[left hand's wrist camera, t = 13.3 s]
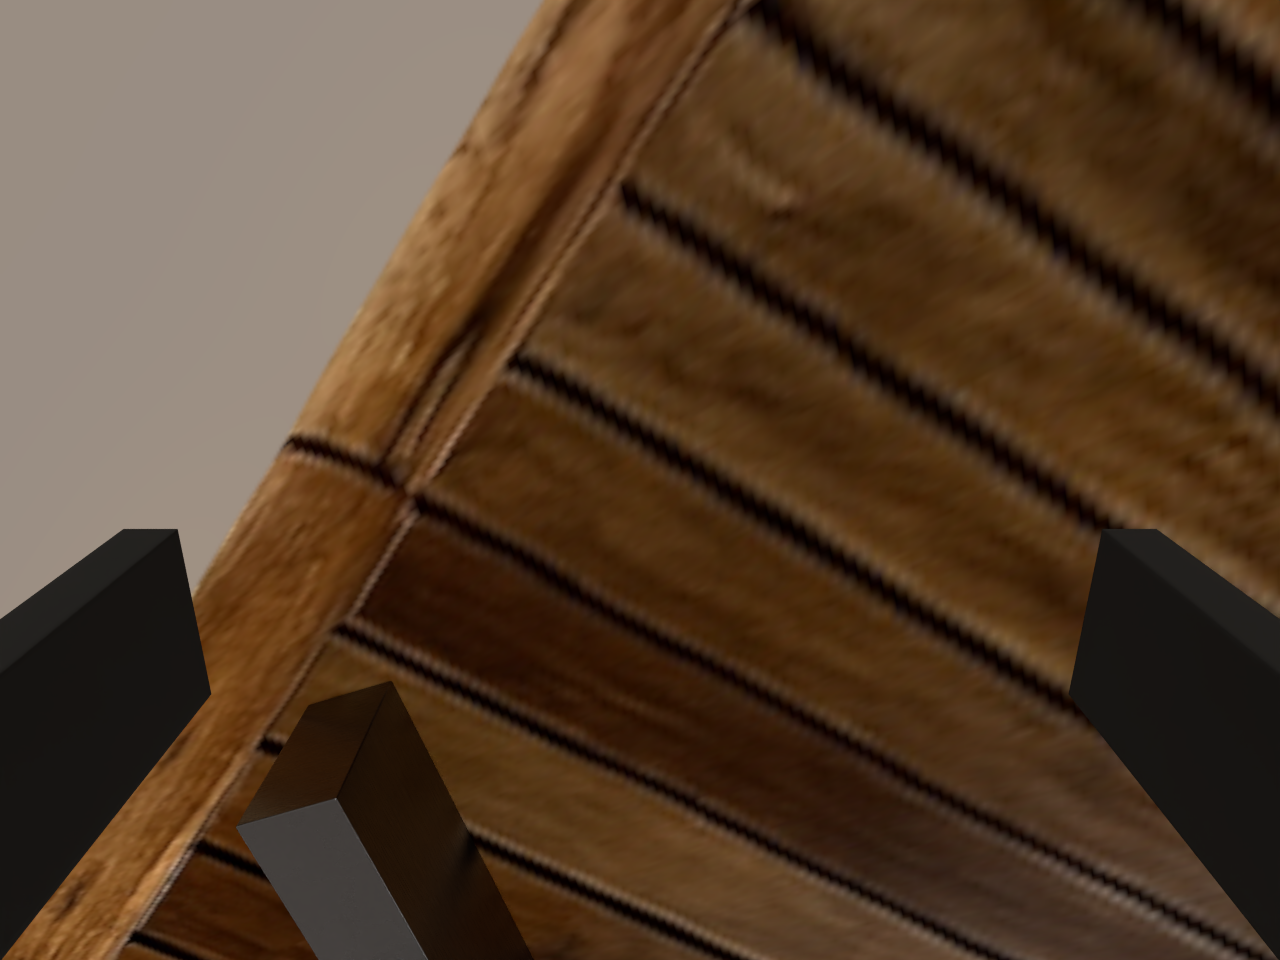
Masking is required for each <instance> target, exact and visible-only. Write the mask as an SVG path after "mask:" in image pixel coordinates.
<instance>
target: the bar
mask: <svg viewBox="0 0 1280 960" xmlns="http://www.w3.org/2000/svg"><path fill="white" fill-rule="evenodd" d="M236 828H237V830H238V832H239V833H240V835H241V836H242V838H243V840H244V841H245V843H246V844H247V846H248V848H249V849H250V851H251V852H252V854H253V856H254V857H255V859H256V860H257V862H258V864H259V865H260V867H261V868H262V870H263V872H264V873H265V875H266V876H267V878H268V879H269V881H270V883H271V884H272V886H273V887H274V889H275V891H276V892H277V894H278V895H279V897H280V899H281V900H282V902H283V903H284V905H285V907H286V908H287V910H288V911H289V913H290V915H291V916H292V918H293V919H294V921H295V923H296V924H297V926H298V927H299V929H300V931H301V932H302V934H303V935H304V937H305V939H306V940H307V942H308V943H309V945H310V947H311V948H312V950H313V951H314V953H315V955H316V956H317V958H318V959H319V960H533V958H532V956H531V954H530V952H529V950H528V948H527V947H526V945H525V943H524V941H523V939H522V937H521V935H520V933H519V931H518V929H517V927H516V925H515V923H514V921H513V919H512V917H511V915H510V913H509V911H508V909H507V907H506V905H505V903H504V901H503V899H502V897H501V895H500V893H499V892H498V890H497V888H496V886H495V884H494V882H493V880H492V878H491V876H490V874H489V872H488V870H487V868H486V866H485V864H484V862H483V860H482V858H481V856H480V854H479V852H478V850H477V848H476V846H475V844H474V842H473V840H472V838H471V837H470V835H469V833H468V831H467V829H466V827H465V825H464V823H463V821H462V819H461V817H460V815H459V813H458V811H457V809H456V807H455V805H454V803H453V801H452V799H451V797H450V795H449V793H448V791H447V789H446V787H445V785H444V783H443V782H442V780H441V778H440V776H439V774H438V772H437V770H436V768H435V766H434V764H433V762H432V760H431V758H430V756H429V754H428V752H427V750H426V748H425V746H424V744H423V742H422V740H421V738H420V736H419V734H418V732H417V730H416V728H415V727H414V725H413V723H412V721H411V719H410V717H409V715H408V713H407V711H406V709H405V707H404V705H403V703H402V701H401V699H400V697H399V695H398V693H397V691H396V689H395V687H394V685H393V683H392V682H391V681H389V682H386V683H383V684H379V685H376V686H372V687H369V688H366V689H362V690H359V691H356V692H352V693H349V694H345V695H342V696H339V697H335V698H332V699H328V700H325V701H322V702H318V703H315V704H312V705H309V706H308V707H307V709H306V710H305V712H304V714H303V715H302V717H301V719H300V720H299V722H298V724H297V725H296V727H295V729H294V731H293V732H292V734H291V736H290V737H289V739H288V741H287V742H286V744H285V746H284V747H283V749H282V751H281V752H280V754H279V756H278V757H277V759H276V761H275V762H274V764H273V766H272V767H271V769H270V771H269V772H268V774H267V776H266V777H265V779H264V781H263V782H262V784H261V786H260V787H259V789H258V791H257V793H256V794H255V796H254V798H253V799H252V801H251V803H250V804H249V806H248V808H247V809H246V811H245V813H244V814H243V816H242V818H241V819H240V821H239V823H238V824H237V826H236Z"/></svg>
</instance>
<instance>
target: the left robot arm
mask: <svg viewBox="0 0 1280 960" xmlns="http://www.w3.org/2000/svg"><path fill="white" fill-rule="evenodd" d="M210 695H211V690H210V685H209V680H208V676H207V671H206V666H205V661H204V656H203V651H202V646H201V641H200V636H199V632H198V627H197V622H196V617H195V612H194V607H193V602H192V597H191V592H190V588H189V583H188V578H187V573H186V568H185V563H184V558H183V553H182V548H181V544H180V539H179V534H178V529H123V530H122V531H120V532H119V533H118V534H116V535H115V536H113V537H112V538H111V539H109V540H108V541H107V542H105V543H104V544H103V545H101V546H100V547H98V548H97V549H96V550H94V551H93V552H92V553H90V554H89V555H88V556H86V557H85V558H83V559H82V560H81V561H79V562H78V563H77V564H75V565H74V566H72V567H71V568H70V569H68V570H67V571H66V572H64V573H63V574H62V575H60V576H59V577H57V578H56V579H55V580H53V581H52V582H51V583H49V584H48V585H46V586H45V587H44V588H42V589H41V590H40V591H38V592H37V593H36V594H34V595H33V596H31V597H30V598H29V599H27V600H26V601H25V602H23V603H22V604H20V605H19V606H18V607H16V608H15V609H14V610H12V611H11V612H10V613H8V614H7V615H5V616H4V617H3V618H1V619H0V960H2V958H3V957H4V956H5V954H6V953H7V952H8V951H9V949H10V948H11V947H12V946H13V944H14V943H15V942H16V941H17V939H18V938H19V937H20V935H21V934H22V933H23V932H24V930H25V929H26V928H27V927H28V925H29V924H30V923H31V922H32V920H33V919H34V918H35V917H36V915H37V914H38V913H39V911H40V910H41V909H42V908H43V906H44V905H45V904H46V903H47V901H48V900H49V899H50V898H51V896H52V895H53V894H54V892H55V891H56V890H57V889H58V887H59V886H60V885H61V884H62V882H63V881H64V880H65V879H66V877H67V876H68V875H69V873H70V872H71V871H72V870H73V868H74V867H75V866H76V865H77V863H78V862H79V861H80V860H81V858H82V857H83V856H84V854H85V853H86V852H87V851H88V849H89V848H90V847H91V846H92V844H93V843H94V842H95V841H96V839H97V838H98V837H99V836H100V834H101V833H102V832H103V830H104V829H105V828H106V827H107V825H108V824H109V823H110V822H111V820H112V819H113V818H114V817H115V815H116V814H117V813H118V811H119V810H120V809H121V808H122V806H123V805H124V804H125V803H126V801H127V800H128V799H129V798H130V796H131V795H132V794H133V792H134V791H135V790H136V789H137V787H138V786H139V785H140V784H141V782H142V781H143V780H144V779H145V777H146V776H147V775H148V774H149V772H150V771H151V770H152V768H153V767H154V766H155V765H156V763H157V762H158V761H159V760H160V758H161V757H162V756H163V755H164V753H165V752H166V751H167V749H168V748H169V747H170V746H171V744H172V743H173V742H174V741H175V739H176V738H177V737H178V736H179V734H180V733H181V732H182V730H183V729H184V728H185V727H186V725H187V724H188V723H189V722H190V720H191V719H192V718H193V717H194V715H195V714H196V713H197V711H198V710H199V709H200V708H201V706H202V705H203V704H204V703H205V701H206V700H207V699H208V698H209V696H210ZM1069 695H1070V696H1071V698H1072V699H1073V700H1074V701H1075V703H1076V704H1077V705H1078V706H1079V708H1080V709H1081V710H1082V711H1083V713H1084V714H1085V715H1086V717H1087V718H1088V719H1089V720H1090V722H1091V723H1092V724H1093V725H1094V727H1095V728H1096V729H1097V730H1098V732H1099V733H1100V734H1101V736H1102V737H1103V738H1104V739H1105V741H1106V742H1107V743H1108V744H1109V746H1110V747H1111V748H1112V749H1113V751H1114V752H1115V753H1116V755H1117V756H1118V757H1119V758H1120V760H1121V761H1122V762H1123V763H1124V765H1125V766H1126V767H1127V768H1128V770H1129V771H1130V772H1131V774H1132V775H1133V776H1134V777H1135V779H1136V780H1137V781H1138V782H1139V784H1140V785H1141V786H1142V787H1143V789H1144V790H1145V791H1146V792H1147V794H1148V795H1149V796H1150V798H1151V799H1152V800H1153V801H1154V803H1155V804H1156V805H1157V806H1158V808H1159V809H1160V810H1161V811H1162V813H1163V814H1164V815H1165V817H1166V818H1167V819H1168V820H1169V822H1170V823H1171V824H1172V825H1173V827H1174V828H1175V829H1176V830H1177V832H1178V833H1179V834H1180V836H1181V837H1182V838H1183V839H1184V841H1185V842H1186V843H1187V844H1188V846H1189V847H1190V848H1191V849H1192V851H1193V852H1194V853H1195V854H1196V856H1197V857H1198V858H1199V860H1200V861H1201V862H1202V863H1203V865H1204V866H1205V867H1206V868H1207V870H1208V871H1209V872H1210V873H1211V875H1212V876H1213V877H1214V879H1215V880H1216V881H1217V882H1218V884H1219V885H1220V886H1221V887H1222V889H1223V890H1224V891H1225V892H1226V894H1227V895H1228V896H1229V898H1230V899H1231V900H1232V901H1233V903H1234V904H1235V905H1236V906H1237V908H1238V909H1239V910H1240V911H1241V913H1242V914H1243V915H1244V917H1245V918H1246V919H1247V920H1248V922H1249V923H1250V924H1251V925H1252V927H1253V928H1254V929H1255V930H1256V932H1257V933H1258V934H1259V935H1260V937H1261V938H1262V939H1263V941H1264V942H1265V943H1266V944H1267V946H1268V947H1269V948H1270V949H1271V951H1272V952H1273V953H1274V954H1275V956H1276V957H1277V958H1278V960H1280V619H1279V618H1277V617H1276V616H1275V615H1273V614H1272V613H1270V612H1269V611H1268V610H1266V609H1265V608H1264V607H1262V606H1261V605H1260V604H1258V603H1257V602H1255V601H1254V600H1253V599H1251V598H1250V597H1249V596H1247V595H1246V594H1244V593H1243V592H1242V591H1240V590H1239V589H1238V588H1236V587H1235V586H1234V585H1232V584H1231V583H1229V582H1228V581H1227V580H1225V579H1224V578H1223V577H1221V576H1220V575H1219V574H1217V573H1216V572H1214V571H1213V570H1212V569H1210V568H1209V567H1208V566H1206V565H1205V564H1203V563H1202V562H1201V561H1199V560H1198V559H1197V558H1195V557H1194V556H1193V555H1191V554H1190V553H1188V552H1187V551H1186V550H1184V549H1183V548H1182V547H1180V546H1179V545H1177V544H1176V543H1175V542H1173V541H1172V540H1171V539H1169V538H1168V537H1167V536H1165V535H1164V534H1162V533H1161V532H1160V531H1158V530H1157V529H1102V534H1101V539H1100V544H1099V548H1098V553H1097V558H1096V563H1095V568H1094V573H1093V578H1092V583H1091V588H1090V592H1089V597H1088V602H1087V607H1086V612H1085V617H1084V622H1083V627H1082V632H1081V636H1080V641H1079V646H1078V651H1077V656H1076V661H1075V666H1074V671H1073V676H1072V680H1071V685H1070V690H1069Z"/></svg>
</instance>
